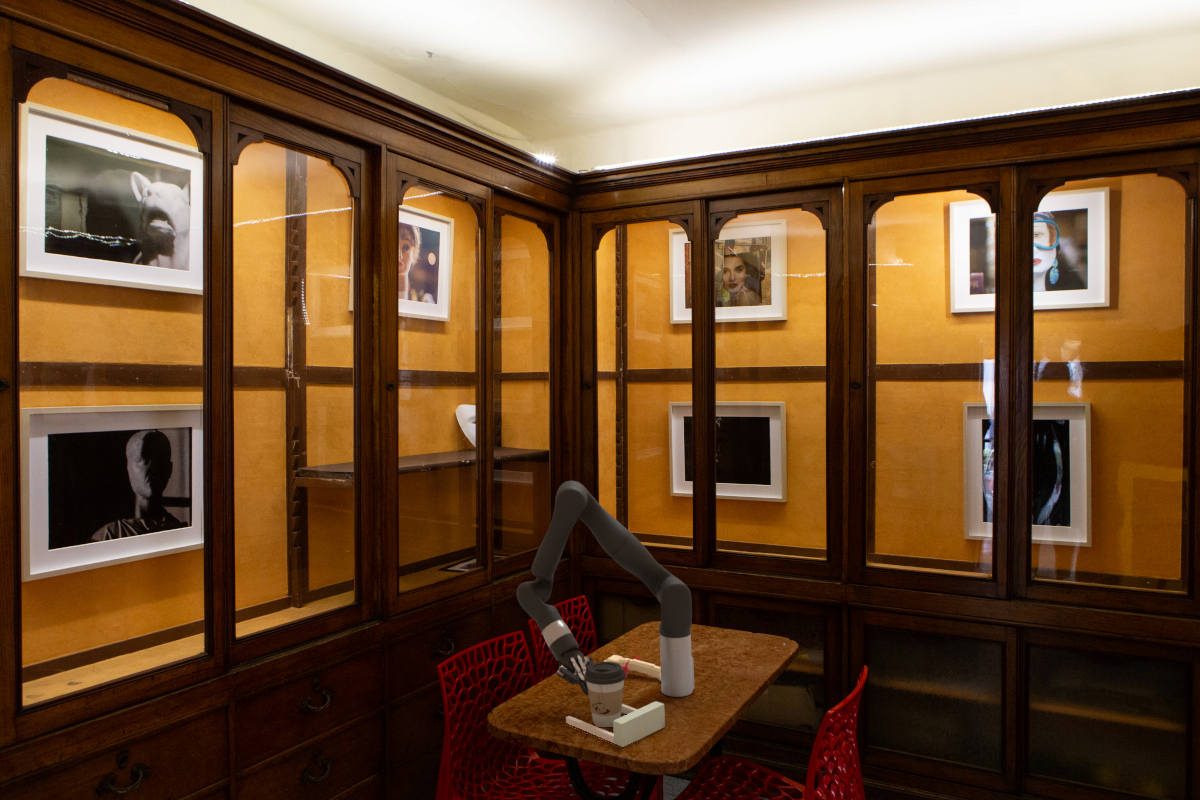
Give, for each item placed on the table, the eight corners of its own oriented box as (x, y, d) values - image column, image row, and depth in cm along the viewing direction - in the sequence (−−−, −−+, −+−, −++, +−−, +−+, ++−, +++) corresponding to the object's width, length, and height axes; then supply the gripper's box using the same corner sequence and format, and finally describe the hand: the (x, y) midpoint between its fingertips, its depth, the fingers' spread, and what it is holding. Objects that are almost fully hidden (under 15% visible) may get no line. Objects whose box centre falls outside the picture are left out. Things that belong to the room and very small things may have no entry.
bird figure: (680, 681, 236) (611, 663, 249) (681, 654, 236) (612, 636, 249) (666, 692, 228) (595, 672, 241) (667, 664, 227) (596, 645, 240)
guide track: (608, 705, 215) (608, 684, 216) (665, 726, 201) (664, 704, 201) (566, 724, 204) (565, 702, 204) (622, 748, 189) (621, 724, 189)
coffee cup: (579, 729, 201) (577, 672, 201) (593, 712, 211) (592, 658, 211) (620, 734, 197) (618, 676, 197) (632, 716, 208) (630, 661, 208)
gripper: (548, 638, 211) (579, 693, 202) (583, 627, 220) (614, 679, 212) (536, 653, 215) (566, 707, 206) (571, 641, 224) (601, 693, 215)
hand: (590, 693), depth 209 cm, fingers closed
